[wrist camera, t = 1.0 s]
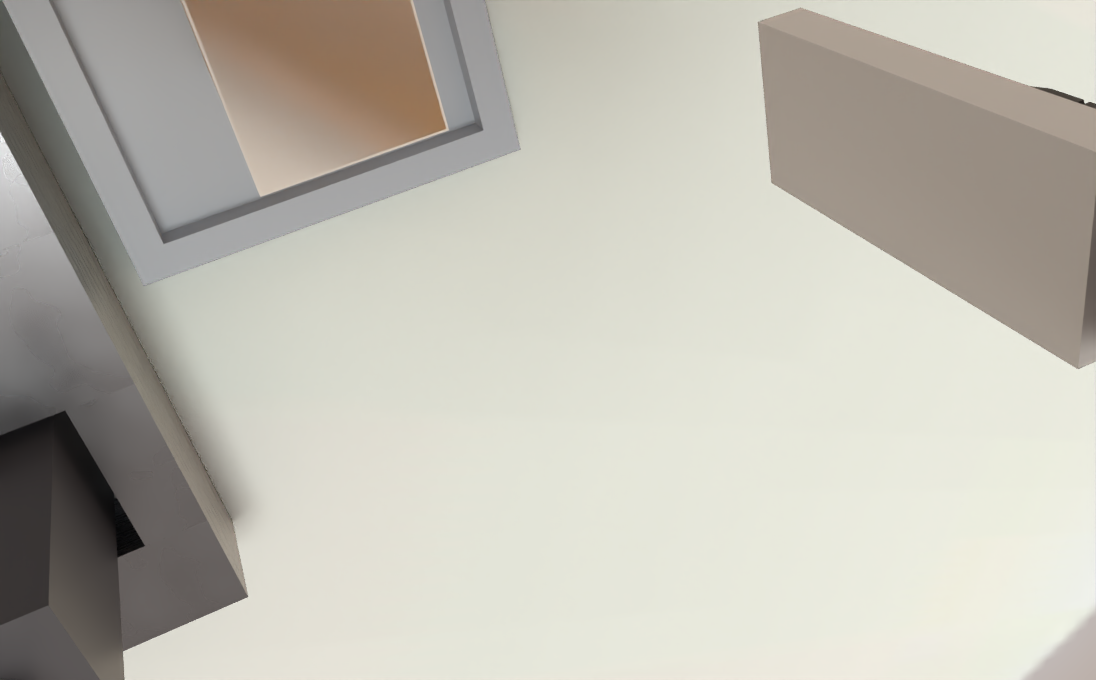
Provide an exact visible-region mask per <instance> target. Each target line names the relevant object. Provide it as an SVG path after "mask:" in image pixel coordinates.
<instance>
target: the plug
mask: <svg viewBox="0 0 1096 680" xmlns="http://www.w3.org/2000/svg"><path fill="white" fill-rule="evenodd" d="M180 1H181V3H182V6H183V8H184V11H185V13H186V16H187V18H188V21H189V23H190V26H191V28H192V31H193V33H194V36H195V38H196V41H197V43H198V46H199V48H200V51H201V53H202V56H203V58H204V61H205V63H206V66H207V68H208V71H209V73H210V75H211V78H212V80H213V82H214V84H215V87H216V89H217V91H218V94H219V96H220V98H221V101H222V103H223V106H224V108H225V111H226V113H227V116H228V118H229V121H230V123H231V126H232V128H233V131H234V133H235V136H236V138H237V141H238V143H239V146H240V148H241V151H242V153H243V156H244V158H245V161H246V163H247V166H248V168H249V171H250V173H251V176H252V178H253V181H254V183H255V186H256V188H257V190H258V193H259V195H260V197H262V196H265V195H267V194H270V193H273V192H276V191H279V190H282V189H284V188H287V187H290V186H293V185H296V184H299V183H301V182H304V181H307V180H310V179H313V178H316V177H318V176H321V175H324V174H327V173H330V172H333V171H335V170H338V169H341V168H344V167H347V166H350V165H352V164H355V163H358V162H361V161H364V160H367V159H369V158H372V157H375V156H378V155H381V154H383V153H386V152H389V151H392V150H395V149H398V148H400V147H403V146H406V145H409V144H412V143H415V142H417V141H420V140H423V139H426V138H429V137H432V136H434V135H437V134H440V133H443V132H446V131H449V128H448V125H447V121H446V117H445V114H444V110H443V107H442V103H441V99H440V96H439V92H438V89H437V85H436V82H435V78H434V74H433V71H432V67H431V64H430V60H429V56H428V53H427V49H426V46H425V42H424V39H423V35H422V31H421V28H420V24H419V21H418V17H417V13H416V10H415V6H414V3H413V0H180Z"/></svg>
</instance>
